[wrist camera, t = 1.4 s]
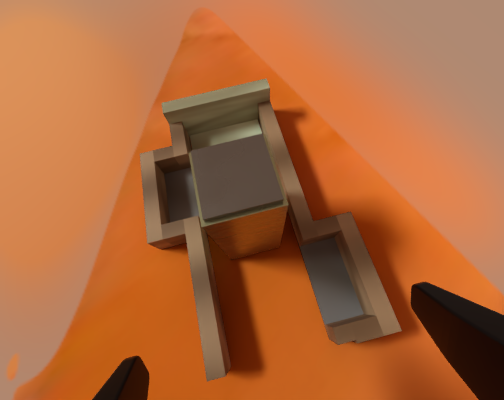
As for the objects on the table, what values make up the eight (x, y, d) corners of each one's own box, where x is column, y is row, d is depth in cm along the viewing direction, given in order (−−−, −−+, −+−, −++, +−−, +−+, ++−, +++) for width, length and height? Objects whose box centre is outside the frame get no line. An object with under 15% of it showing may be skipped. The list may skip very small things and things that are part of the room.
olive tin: (279, 247, 21) (289, 201, 11) (231, 259, 21) (199, 224, 11) (266, 202, 22) (265, 129, 13) (221, 213, 22) (186, 148, 13)
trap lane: (384, 326, 18) (414, 333, 14) (174, 385, 18) (149, 408, 14) (293, 102, 27) (297, 71, 23) (148, 137, 26) (129, 110, 22)
